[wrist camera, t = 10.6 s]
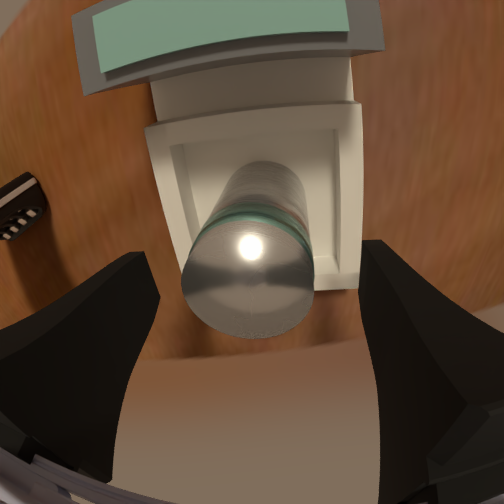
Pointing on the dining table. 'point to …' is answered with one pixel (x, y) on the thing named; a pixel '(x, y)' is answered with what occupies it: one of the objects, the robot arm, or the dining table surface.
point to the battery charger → (20, 206)
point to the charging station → (244, 104)
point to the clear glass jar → (253, 255)
